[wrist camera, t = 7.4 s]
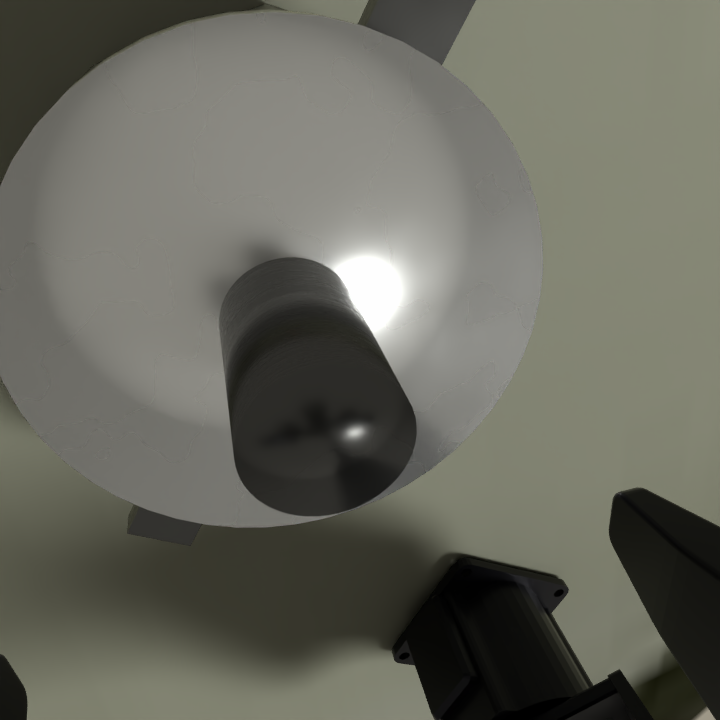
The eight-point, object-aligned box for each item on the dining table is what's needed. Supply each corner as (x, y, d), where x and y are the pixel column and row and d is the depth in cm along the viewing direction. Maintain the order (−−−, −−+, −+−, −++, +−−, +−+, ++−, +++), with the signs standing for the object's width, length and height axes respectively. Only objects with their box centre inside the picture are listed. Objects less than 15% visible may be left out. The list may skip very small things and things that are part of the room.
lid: (509, -31, 14) (726, -31, 8) (504, 424, 20) (626, 592, 15) (-103, 54, 12) (-334, 122, 7) (103, 521, 18) (72, 752, 13)
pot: (550, 61, 19) (656, 86, 15) (307, 478, 25) (334, 582, 20) (177, -191, 14) (177, -259, 10) (-16, 393, 20) (-68, 505, 16)
